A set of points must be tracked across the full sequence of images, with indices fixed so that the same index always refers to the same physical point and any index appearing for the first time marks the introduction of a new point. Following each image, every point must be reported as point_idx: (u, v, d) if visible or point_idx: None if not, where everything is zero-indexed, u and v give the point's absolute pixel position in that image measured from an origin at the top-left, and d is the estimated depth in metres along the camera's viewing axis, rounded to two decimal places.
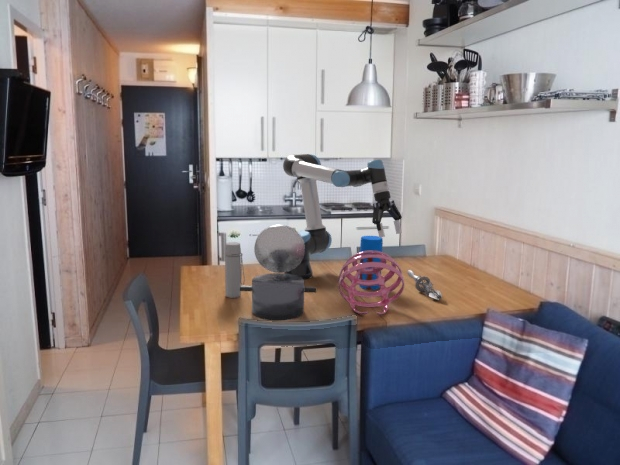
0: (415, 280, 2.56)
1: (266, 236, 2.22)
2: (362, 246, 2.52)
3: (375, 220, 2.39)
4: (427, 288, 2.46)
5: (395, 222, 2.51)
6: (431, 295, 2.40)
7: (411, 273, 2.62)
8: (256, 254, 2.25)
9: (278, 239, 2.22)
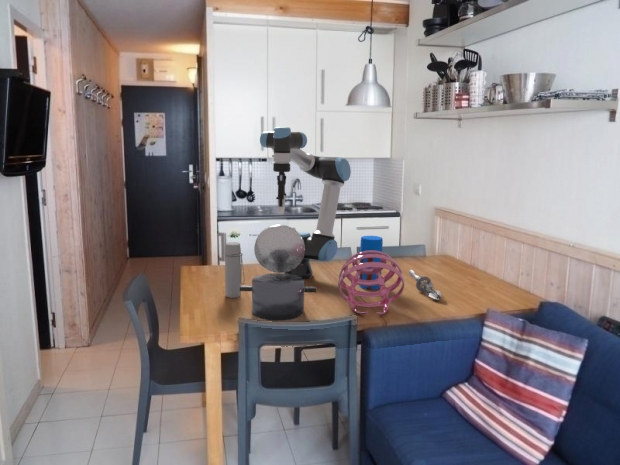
0: (416, 280, 2.56)
1: (266, 236, 2.22)
2: (362, 246, 2.52)
3: None
4: (427, 288, 2.46)
5: None
6: (431, 295, 2.40)
7: (412, 273, 2.63)
8: (256, 254, 2.25)
9: (278, 239, 2.22)
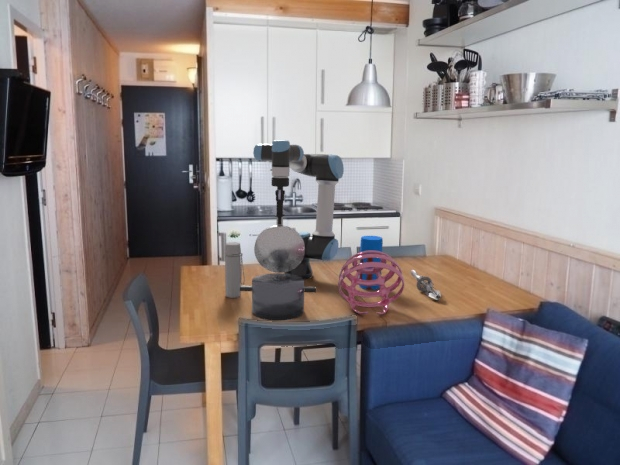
0: (417, 280, 2.56)
1: (266, 236, 2.21)
2: (362, 246, 2.52)
3: None
4: (427, 288, 2.46)
5: None
6: (431, 295, 2.40)
7: (414, 273, 2.63)
8: (256, 254, 2.25)
9: (278, 239, 2.22)
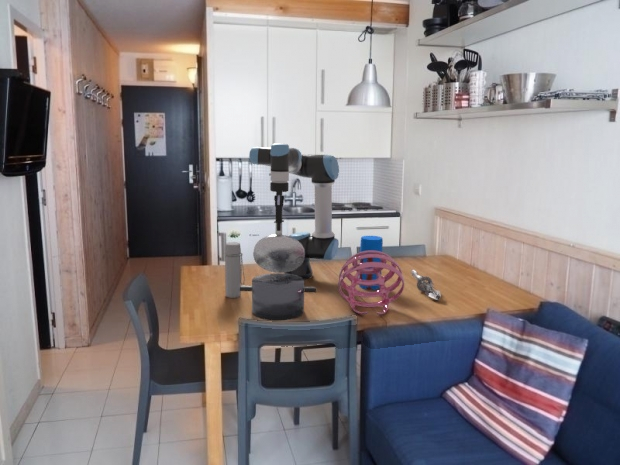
0: (417, 280, 2.56)
1: (265, 245, 2.16)
2: (362, 246, 2.52)
3: None
4: (428, 288, 2.46)
5: None
6: (431, 295, 2.40)
7: (414, 273, 2.63)
8: (255, 259, 2.22)
9: (277, 248, 2.17)
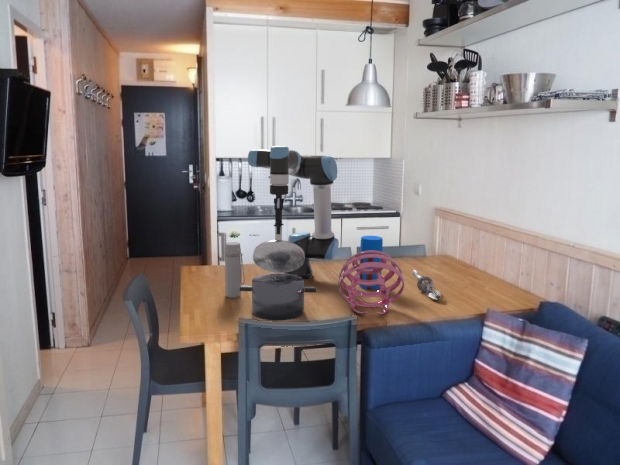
0: (418, 280, 2.57)
1: (264, 250, 2.14)
2: (362, 246, 2.52)
3: None
4: (428, 288, 2.46)
5: None
6: (430, 295, 2.40)
7: (415, 273, 2.63)
8: (255, 261, 2.21)
9: (277, 252, 2.15)
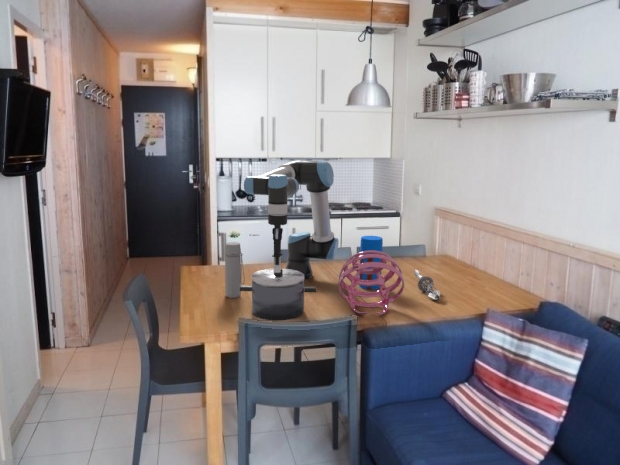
0: (419, 280, 2.57)
1: None
2: (362, 246, 2.52)
3: None
4: (428, 288, 2.46)
5: None
6: (430, 295, 2.40)
7: (417, 273, 2.63)
8: None
9: None
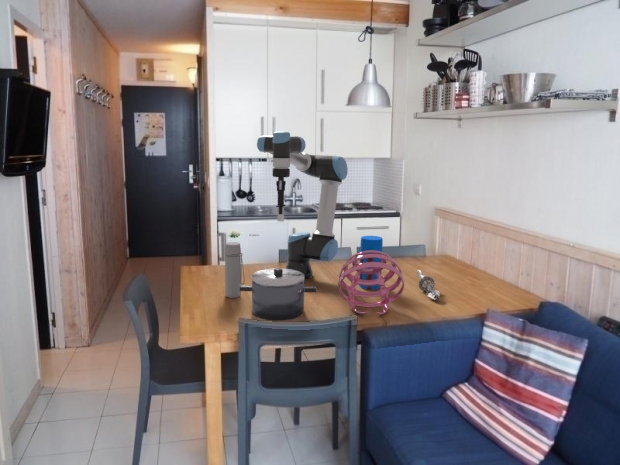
0: None
1: None
2: (362, 246, 2.52)
3: None
4: (428, 288, 2.46)
5: None
6: (430, 295, 2.40)
7: (419, 273, 2.63)
8: None
9: None
